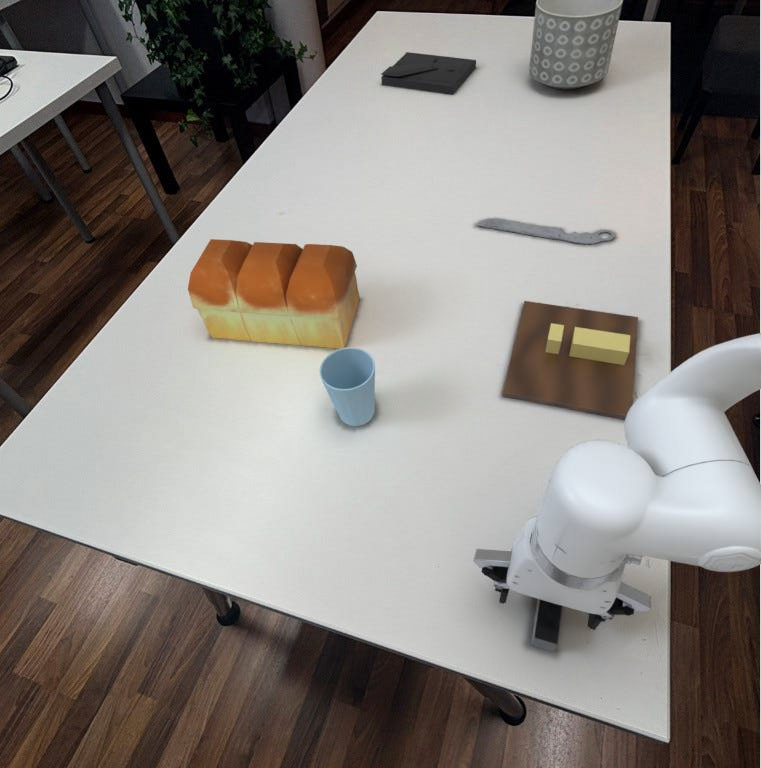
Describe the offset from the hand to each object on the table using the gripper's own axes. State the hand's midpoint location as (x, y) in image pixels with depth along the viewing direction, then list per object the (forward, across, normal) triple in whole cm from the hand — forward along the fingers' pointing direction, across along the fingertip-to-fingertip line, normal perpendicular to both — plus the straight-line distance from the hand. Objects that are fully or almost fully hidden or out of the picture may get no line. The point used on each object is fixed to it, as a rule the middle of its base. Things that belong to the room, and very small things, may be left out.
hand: (547, 602), depth 62 cm
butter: (+1, -2, -40) cm, 40 cm away
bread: (+3, +50, -37) cm, 62 cm away
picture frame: (+3, +49, -131) cm, 140 cm away
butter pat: (+1, +4, -40) cm, 40 cm away
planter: (+2, +13, -131) cm, 132 cm away
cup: (+3, +31, -21) cm, 37 cm away
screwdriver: (+2, 0, -5) cm, 6 cm away
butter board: (+2, +1, -39) cm, 39 cm away
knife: (+2, +10, -70) cm, 71 cm away
